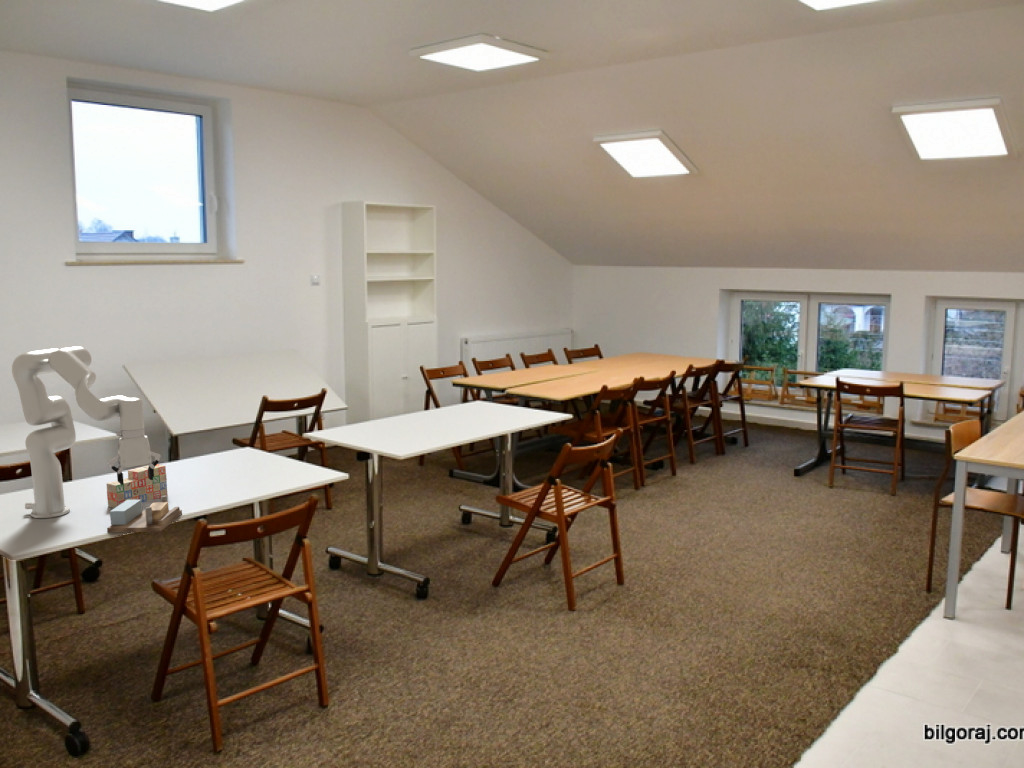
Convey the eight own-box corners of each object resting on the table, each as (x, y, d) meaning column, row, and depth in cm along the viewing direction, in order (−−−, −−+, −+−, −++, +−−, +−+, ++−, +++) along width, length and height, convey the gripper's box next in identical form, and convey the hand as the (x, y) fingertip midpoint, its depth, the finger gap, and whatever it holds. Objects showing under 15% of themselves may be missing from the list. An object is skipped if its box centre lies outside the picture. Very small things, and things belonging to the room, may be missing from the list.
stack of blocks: (117, 509, 319) (115, 477, 317) (107, 507, 323) (105, 475, 321) (168, 495, 337) (165, 465, 335) (158, 493, 340) (155, 463, 339)
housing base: (107, 532, 292) (105, 511, 291) (132, 514, 312) (130, 494, 311) (160, 531, 293) (158, 510, 292) (182, 513, 312) (180, 493, 311)
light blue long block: (111, 524, 295) (109, 511, 294) (128, 512, 309) (127, 499, 308) (125, 524, 295) (124, 511, 295) (142, 512, 309) (141, 499, 308)
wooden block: (146, 523, 297) (145, 510, 296) (154, 514, 307) (153, 502, 306) (161, 522, 298) (160, 510, 297) (168, 514, 307) (168, 501, 307)
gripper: (108, 438, 290) (112, 487, 292) (161, 432, 300) (164, 479, 302) (103, 434, 295) (107, 483, 298) (155, 428, 306) (159, 475, 308)
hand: (136, 481), depth 300 cm, fingers open, 9 cm apart
